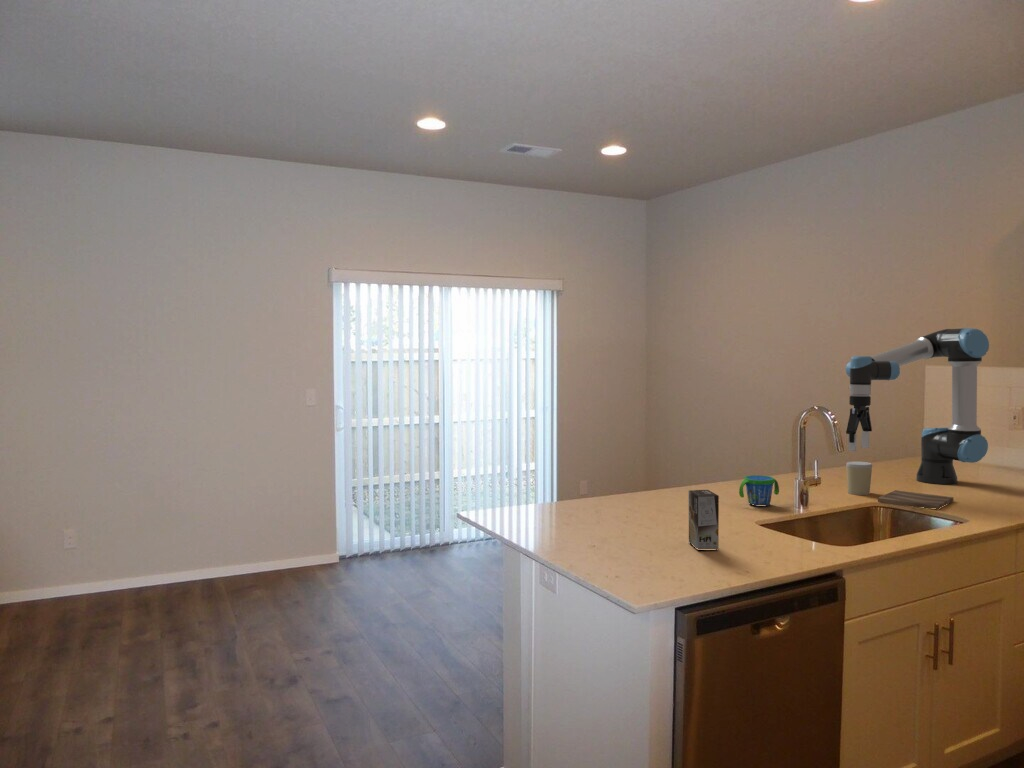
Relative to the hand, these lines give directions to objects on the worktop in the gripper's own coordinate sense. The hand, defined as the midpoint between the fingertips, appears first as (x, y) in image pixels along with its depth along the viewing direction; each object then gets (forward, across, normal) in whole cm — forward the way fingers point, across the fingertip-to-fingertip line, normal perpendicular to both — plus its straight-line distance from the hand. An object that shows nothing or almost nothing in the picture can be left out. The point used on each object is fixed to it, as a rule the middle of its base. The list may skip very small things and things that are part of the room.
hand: (858, 449), depth 287 cm
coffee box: (+19, +110, -5) cm, 111 cm away
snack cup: (+18, +46, -19) cm, 53 cm away
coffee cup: (+18, 0, 0) cm, 18 cm away
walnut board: (+17, +2, +21) cm, 27 cm away
